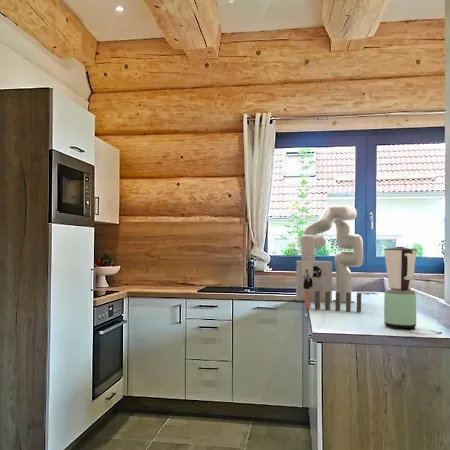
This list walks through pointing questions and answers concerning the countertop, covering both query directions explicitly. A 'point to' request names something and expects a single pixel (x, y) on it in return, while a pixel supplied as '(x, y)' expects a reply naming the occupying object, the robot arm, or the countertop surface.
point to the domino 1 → (307, 299)
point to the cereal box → (315, 280)
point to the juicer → (400, 288)
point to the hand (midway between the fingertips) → (308, 288)
